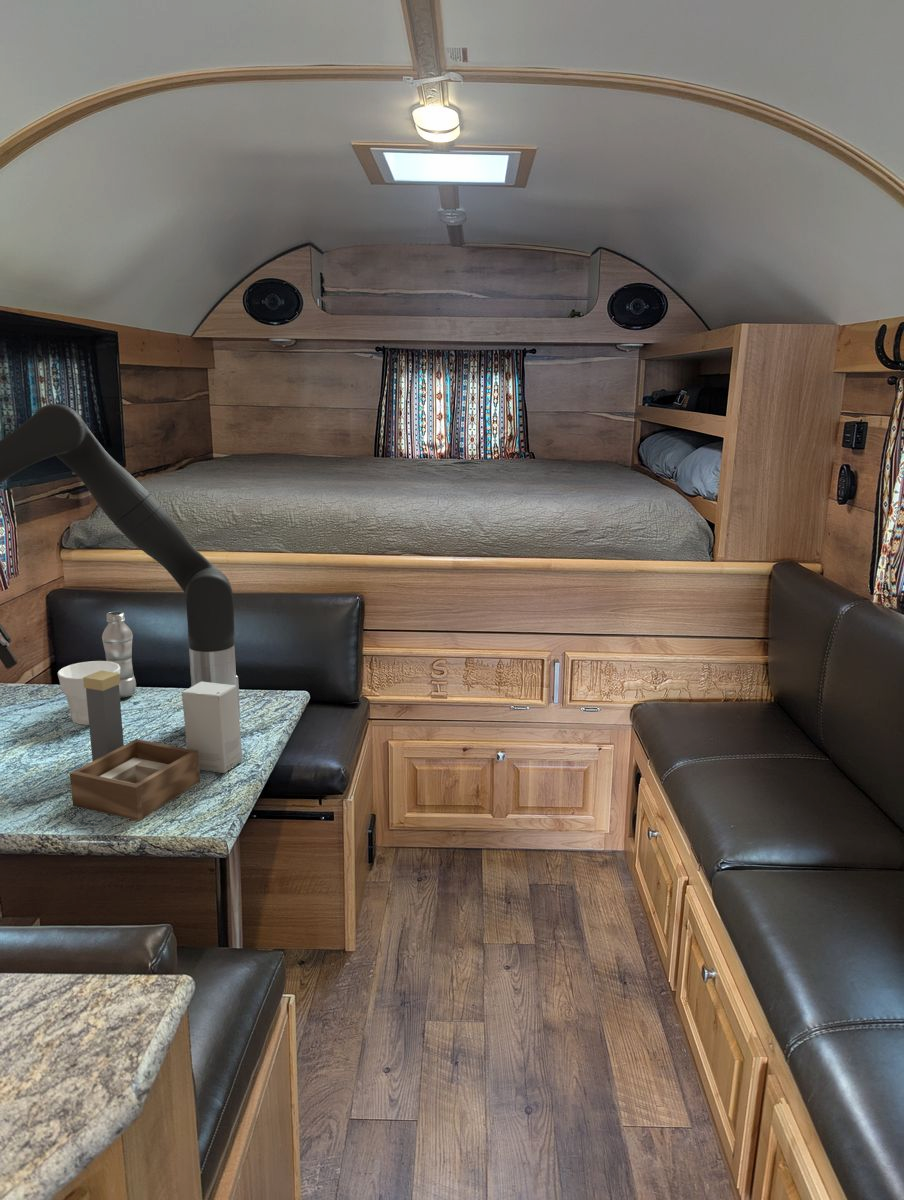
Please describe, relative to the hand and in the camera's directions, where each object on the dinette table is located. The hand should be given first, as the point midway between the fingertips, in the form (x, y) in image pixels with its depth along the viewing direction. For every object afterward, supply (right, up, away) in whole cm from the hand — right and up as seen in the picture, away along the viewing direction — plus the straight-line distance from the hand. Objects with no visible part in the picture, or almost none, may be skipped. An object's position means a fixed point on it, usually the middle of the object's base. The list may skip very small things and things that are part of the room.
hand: (1, 669), depth 155 cm
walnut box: (+28, -21, -7) cm, 36 cm away
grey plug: (+19, -18, +3) cm, 26 cm away
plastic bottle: (+6, -10, +40) cm, 42 cm away
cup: (+5, -13, +27) cm, 31 cm away
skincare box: (+38, -19, +5) cm, 43 cm away
